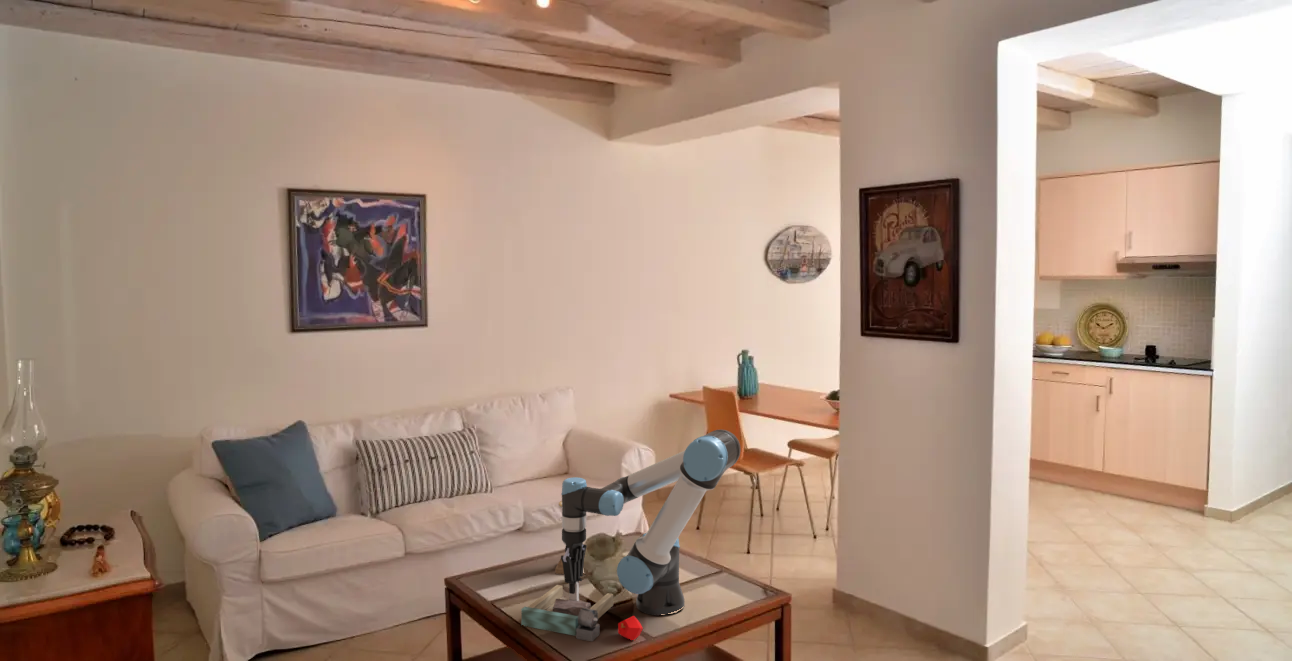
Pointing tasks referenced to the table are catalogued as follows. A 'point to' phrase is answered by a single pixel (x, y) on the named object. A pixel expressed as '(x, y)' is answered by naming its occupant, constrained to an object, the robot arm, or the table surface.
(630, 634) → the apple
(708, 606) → the table surface
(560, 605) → the stone
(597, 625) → the winch
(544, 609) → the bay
